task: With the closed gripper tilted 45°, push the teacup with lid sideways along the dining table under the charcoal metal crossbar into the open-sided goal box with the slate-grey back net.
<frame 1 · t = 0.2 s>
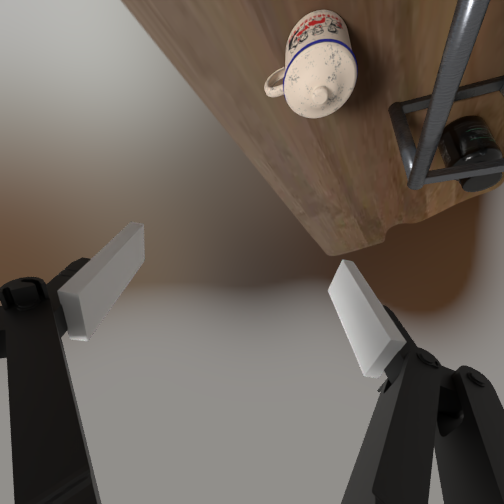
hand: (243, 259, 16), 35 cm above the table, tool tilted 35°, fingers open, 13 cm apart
supplement bottle: (458, 131, 44), on the table
teacup with lid: (305, 52, 35), on the table
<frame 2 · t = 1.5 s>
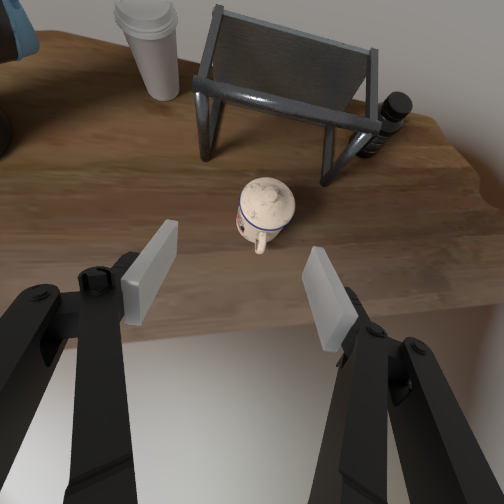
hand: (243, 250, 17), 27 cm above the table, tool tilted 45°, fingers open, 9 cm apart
goal box: (270, 141, 52), on the table
supplement bottle: (361, 146, 55), on the table
teacup with lid: (257, 229, 47), on the table
coffee cup: (163, 89, 51), on the table
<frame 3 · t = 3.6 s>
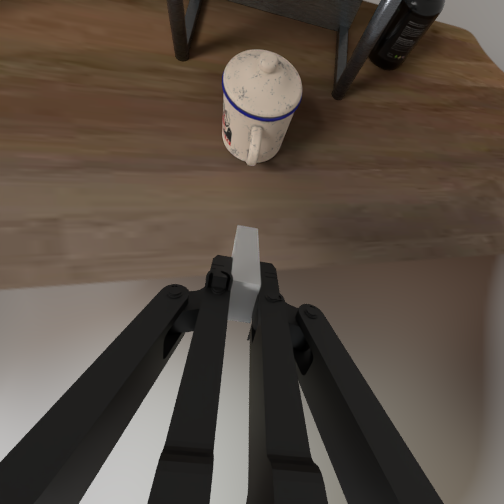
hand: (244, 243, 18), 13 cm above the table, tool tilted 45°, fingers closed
goal box: (267, 43, 40), on the table
supplement bottle: (383, 57, 43), on the table
teacup with lid: (250, 147, 35), on the table
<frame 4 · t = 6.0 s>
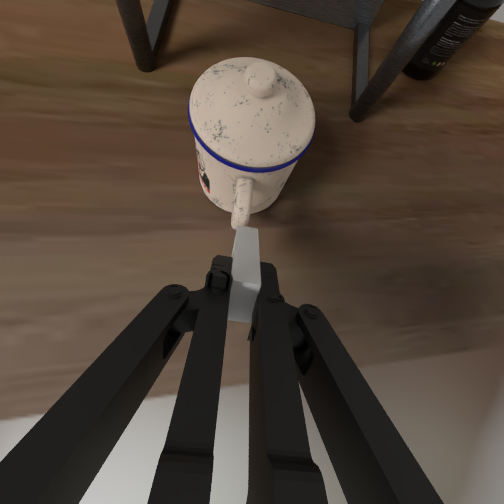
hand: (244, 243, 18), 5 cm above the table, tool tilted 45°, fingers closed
goal box: (263, 46, 30), on the table
supplement bottle: (413, 63, 33), on the table
teacup with lid: (240, 190, 25), on the table, touching gripper
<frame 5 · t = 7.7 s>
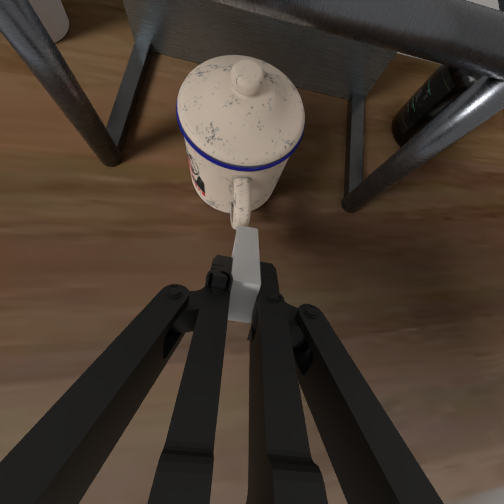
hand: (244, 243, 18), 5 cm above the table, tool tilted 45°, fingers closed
goal box: (246, 126, 27), on the table
supplement bottle: (413, 135, 30), on the table
teacup with lid: (234, 190, 25), on the table, touching gripper
coffee cup: (37, 25, 26), on the table
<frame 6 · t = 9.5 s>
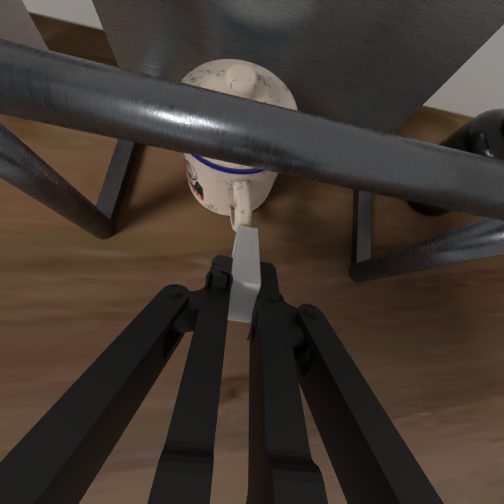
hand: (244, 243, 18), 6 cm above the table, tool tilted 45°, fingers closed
goal box: (248, 188, 25), on the table
supplement bottle: (423, 191, 29), on the table
teacup with lid: (231, 192, 25), on the table, touching gripper
coffee cup: (28, 81, 25), on the table
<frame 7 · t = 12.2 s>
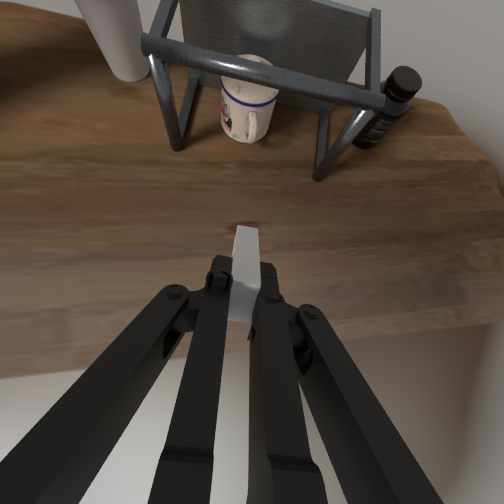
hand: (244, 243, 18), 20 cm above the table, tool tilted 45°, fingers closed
goal box: (255, 129, 44), on the table
supplement bottle: (361, 135, 48), on the table
teacup with lid: (245, 131, 44), on the table
coffee cup: (131, 68, 44), on the table
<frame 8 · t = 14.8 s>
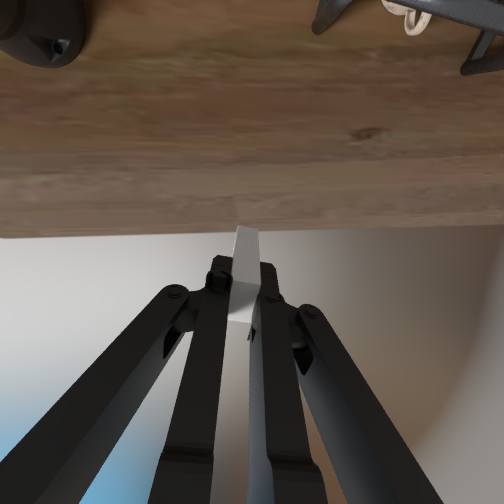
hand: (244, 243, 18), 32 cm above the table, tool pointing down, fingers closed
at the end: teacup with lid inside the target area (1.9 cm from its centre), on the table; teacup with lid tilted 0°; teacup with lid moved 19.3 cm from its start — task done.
